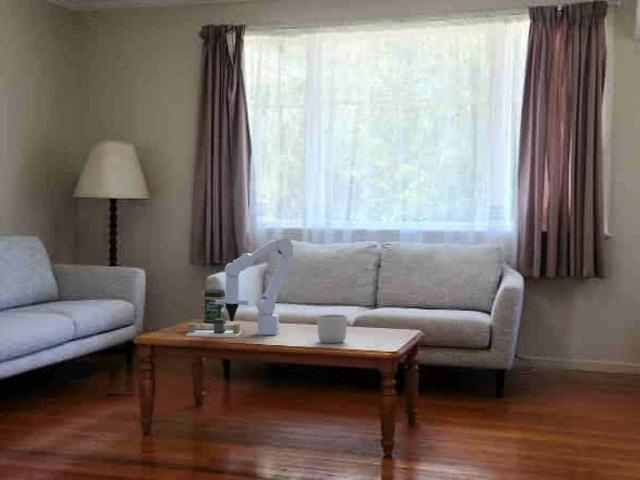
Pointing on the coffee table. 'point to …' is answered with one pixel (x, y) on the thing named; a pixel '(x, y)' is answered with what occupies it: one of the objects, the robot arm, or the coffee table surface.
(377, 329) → the coffee table surface
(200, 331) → the rail
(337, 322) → the planter
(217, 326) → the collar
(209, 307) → the coffee jar
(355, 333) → the coffee table surface
